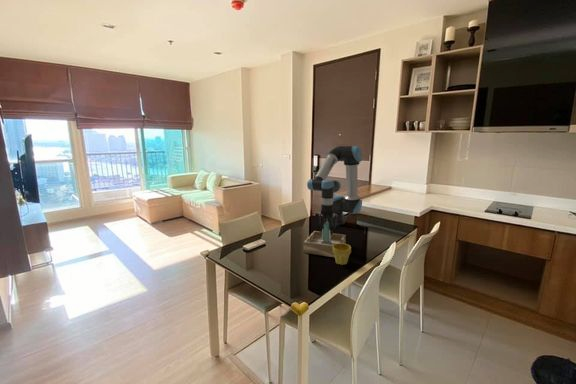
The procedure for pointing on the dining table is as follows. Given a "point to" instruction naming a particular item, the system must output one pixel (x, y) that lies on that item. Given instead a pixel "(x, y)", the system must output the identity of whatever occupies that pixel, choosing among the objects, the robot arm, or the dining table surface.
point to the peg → (326, 232)
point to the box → (322, 244)
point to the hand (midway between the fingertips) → (326, 238)
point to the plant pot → (341, 253)
